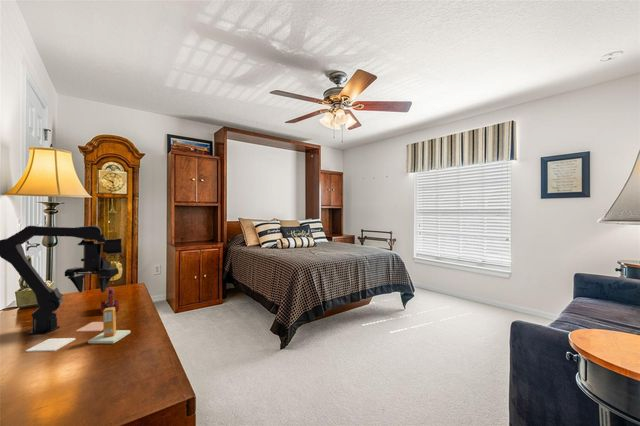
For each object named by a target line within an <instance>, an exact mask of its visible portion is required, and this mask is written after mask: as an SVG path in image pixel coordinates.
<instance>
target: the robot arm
mask: <svg viewBox="0 0 640 426" xmlns="http://www.w3.org/2000/svg"><path fill="white" fill-rule="evenodd" d="M33 237H68V238H69V237H71V238H78V239H81V241H80V242H79V243H77V246H83V258H81V259H80V262H83V267H78V266H77V267H75V266H74V267H73V268H72V267H71V268H67V269H66V270H65V271H64V277H67V279H69V280H70V281H71V283H73V285H74V287H75V288H76V290H77V291H78V293H80V294H81V293H83V289H84V278H85V277H86V275H99V276H100V277H98V279H99V286H100V287H99V288H100V292H101V293H105V291H106V289H107V288H108V284H109V282H110V281H111V279H112V278H113V277H115V276H117V275H119V272H120V271H119V269H118V267H111V265H112V261H108V260H105V258H104V256H102V253H104V254H105V255H107V256H108V255H122V254H123V245H122V237H121V238H119V237H118V238H108V239H107V238H106V236H105V235H103V233H102V229H101V227H99V226H98V225H86V226H77V227H76V226H75V227H71V226H70V227H67V226H41V225H40V226H38V225H28V226H25V227H24V228H23V229H21V230H20V231H18V232H16V233H14V234H12V235H11V236H10V237H8V238H3V239H0V258H2V260H4V261H6V262H7V263H9V264H10V265H12V267H13V268H14V269H15V271H16V272H17V273H18V274H19V275H20V277H21V278H22V279H23V281H24V282H25V284H27V286H28V287H29V288H30V290H31V291H32V292H33V293H34V295H35V299H36V302H37V306H39V307H37V308H36V309H35V310H34V311H33V312H32V314H31V317H32V330H31V331H29V332H28V335H30V334H31V335H32V334H33V335H45V334H48V333H51V332H52V331H55V330H57V329H59V328H60V327H61V326H60V325H58V317H57V313H55V312H56V311H57V310H58V309H59V308H60V307H61V306H62V303H63V300H64V298H63V296H64V294H62V293H61V292H60V291H59V288H58V287H56V288H54V289H52V288H51V287H49V286H48V284H47V283H46V282H45V280H44V279H43V278H42V277H41V275H40V274H39V273H38V271H37V270H36V269H35V268H34V267H33V264H31V262H30V261H29V259H27V257H26V255H25V250H24V247H23V244H24V243H26V242H28V241H29V240H31V239H32V238H33ZM96 241H97V242H96Z"/></svg>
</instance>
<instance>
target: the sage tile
mask: <svg viewBox="0 0 640 426" xmlns="http://www.w3.org/2000/svg"><path fill="white" fill-rule="evenodd" d="M129 334H131V330H129V329H127V330H126V329H123V330H121V329H120V330H119V329H116V333H115V335H114V336H110V337H104V331H103V332H101V333H99V334H98V335H95V336H94V337H92V338H90V339H88V341H87V343H88V344H116V342H118V341H120V340H122V339H123V338H125V337H126V336H129Z"/></svg>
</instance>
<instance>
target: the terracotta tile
mask: <svg viewBox="0 0 640 426" xmlns="http://www.w3.org/2000/svg"><path fill="white" fill-rule="evenodd" d="M102 331H104V327H103V321H91V322H90V323H88V324H86V325H84V326H82V327H79V328H78V329H76V330H75V333H81V332H82V333H86V332H87V333H89V332H102Z"/></svg>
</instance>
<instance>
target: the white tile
mask: <svg viewBox="0 0 640 426" xmlns="http://www.w3.org/2000/svg"><path fill="white" fill-rule="evenodd" d="M75 340H76V338H75V337H66V338H65V337H64V338H63V337H62V338H61V337H59V338H48V339H45V340H44V341H42V342H40V343H38V344H36V345H34V346H31V347H30V348H27V349H26V350H25V352H26V353H34V352H35V353H36V352H38V353H39V352H55V351H58V350H59V349H61V348H62V347H65V346H66V345H68V344H69V343H72V342H73V341H75Z"/></svg>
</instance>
